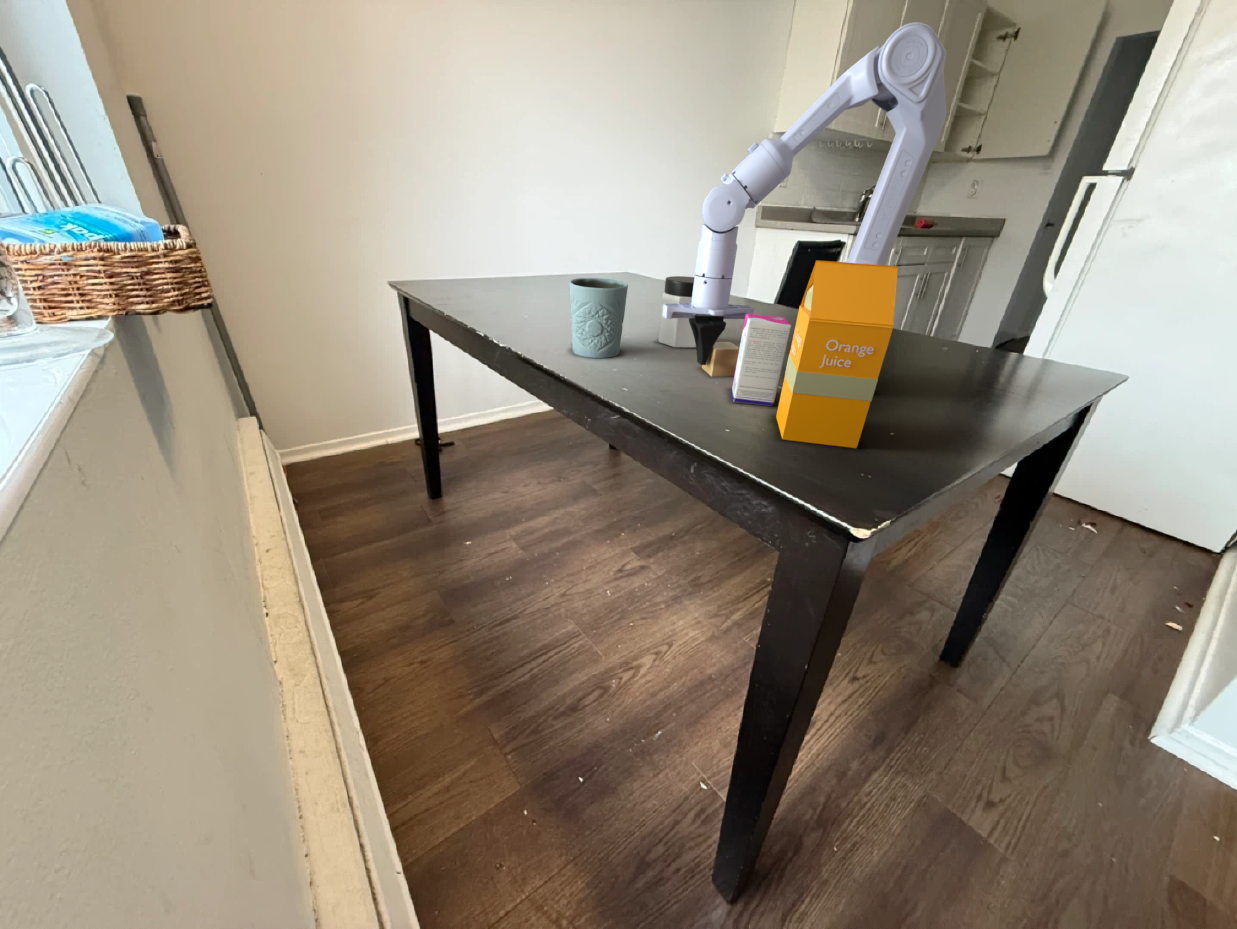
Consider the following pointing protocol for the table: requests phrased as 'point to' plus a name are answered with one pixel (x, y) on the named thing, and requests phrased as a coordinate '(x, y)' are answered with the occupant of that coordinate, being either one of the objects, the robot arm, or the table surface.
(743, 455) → the table surface
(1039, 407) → the table surface
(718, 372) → the maple block
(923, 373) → the table surface
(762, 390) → the supplement box
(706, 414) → the table surface
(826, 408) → the orange juice
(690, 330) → the jar
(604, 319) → the drinking glass
